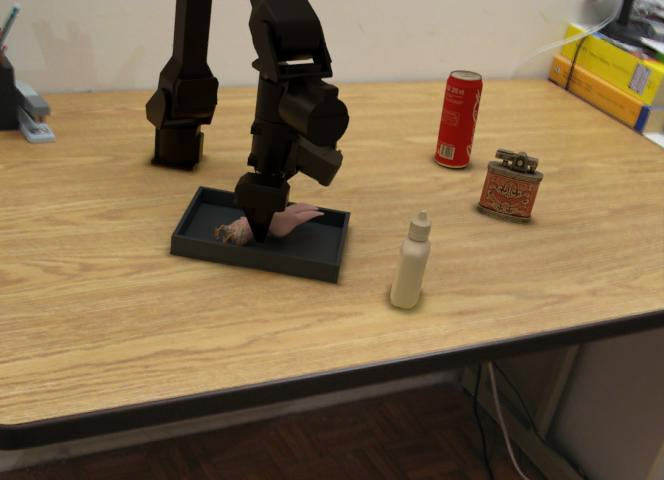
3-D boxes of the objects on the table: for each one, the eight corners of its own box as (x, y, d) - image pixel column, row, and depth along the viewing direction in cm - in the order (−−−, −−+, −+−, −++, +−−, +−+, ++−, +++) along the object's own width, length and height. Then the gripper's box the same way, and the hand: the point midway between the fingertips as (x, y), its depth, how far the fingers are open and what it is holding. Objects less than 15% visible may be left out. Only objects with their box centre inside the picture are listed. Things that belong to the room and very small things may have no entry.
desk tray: (170, 253, 109) (171, 235, 108) (198, 202, 122) (199, 185, 121) (336, 284, 108) (340, 266, 106) (347, 228, 121) (350, 212, 119)
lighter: (530, 216, 131) (549, 155, 126) (528, 226, 128) (547, 163, 123) (478, 203, 133) (494, 142, 128) (474, 212, 130) (491, 150, 125)
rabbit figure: (230, 265, 110) (332, 232, 116) (227, 225, 107) (333, 193, 112) (210, 241, 115) (309, 211, 120) (206, 202, 111) (309, 173, 117)
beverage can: (467, 172, 143) (489, 84, 135) (428, 165, 143) (448, 76, 135) (468, 159, 148) (490, 72, 140) (430, 151, 148) (449, 65, 140)
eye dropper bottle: (375, 296, 106) (394, 209, 100) (404, 283, 110) (423, 197, 104) (403, 313, 104) (423, 224, 98) (431, 299, 107) (453, 212, 101)
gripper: (336, 154, 97) (317, 275, 105) (350, 102, 113) (332, 210, 121) (238, 138, 98) (227, 258, 106) (266, 88, 114) (254, 196, 122)
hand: (264, 229), depth 114 cm, fingers closed on rabbit figure, 7 cm apart
